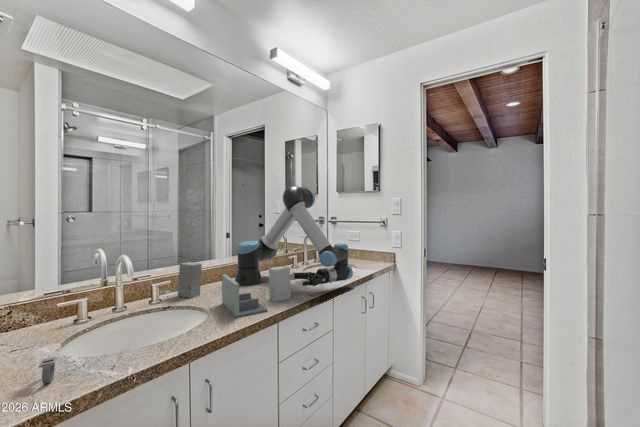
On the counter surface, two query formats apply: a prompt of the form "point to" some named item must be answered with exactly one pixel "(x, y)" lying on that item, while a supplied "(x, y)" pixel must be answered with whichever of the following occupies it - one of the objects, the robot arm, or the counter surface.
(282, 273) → the skincare box
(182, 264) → the skincare box
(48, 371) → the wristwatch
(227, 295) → the holder
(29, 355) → the counter surface
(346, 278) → the robot arm
